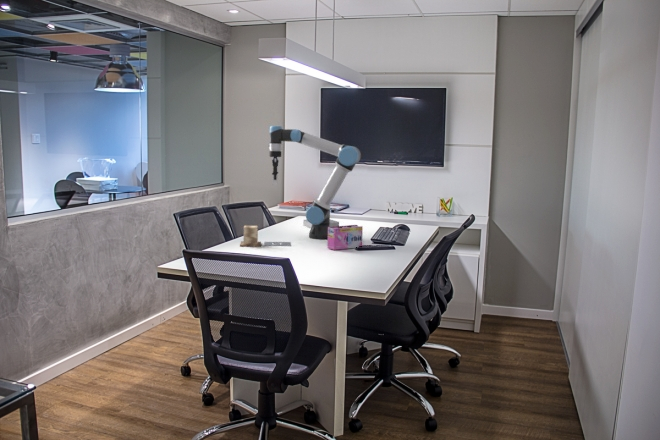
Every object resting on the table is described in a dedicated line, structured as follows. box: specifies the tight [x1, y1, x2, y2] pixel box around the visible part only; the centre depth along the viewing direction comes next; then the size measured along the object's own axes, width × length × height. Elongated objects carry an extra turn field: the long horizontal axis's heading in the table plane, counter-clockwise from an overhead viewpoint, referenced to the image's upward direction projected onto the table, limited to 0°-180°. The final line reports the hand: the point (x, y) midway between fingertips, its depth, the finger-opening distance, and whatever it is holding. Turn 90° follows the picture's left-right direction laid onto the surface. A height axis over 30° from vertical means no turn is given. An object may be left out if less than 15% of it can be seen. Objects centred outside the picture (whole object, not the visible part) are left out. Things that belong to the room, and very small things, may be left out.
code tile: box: [263, 241, 292, 247], centre depth 359 cm, size 16×14×1 cm
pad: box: [239, 240, 262, 248], centre depth 353 cm, size 12×12×1 cm
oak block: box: [243, 225, 259, 244], centre depth 353 cm, size 8×8×10 cm
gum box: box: [326, 224, 363, 251], centre depth 352 cm, size 22×7×13 cm, turn 126°
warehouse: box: [302, 218, 340, 229], centre depth 423 cm, size 30×14×8 cm, turn 25°
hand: (275, 184), depth 375 cm, fingers open, 13 cm apart
